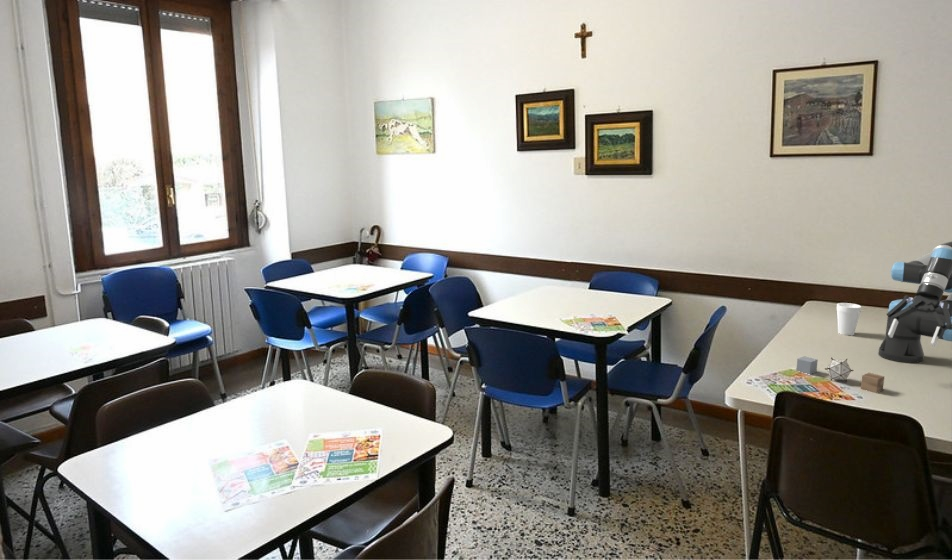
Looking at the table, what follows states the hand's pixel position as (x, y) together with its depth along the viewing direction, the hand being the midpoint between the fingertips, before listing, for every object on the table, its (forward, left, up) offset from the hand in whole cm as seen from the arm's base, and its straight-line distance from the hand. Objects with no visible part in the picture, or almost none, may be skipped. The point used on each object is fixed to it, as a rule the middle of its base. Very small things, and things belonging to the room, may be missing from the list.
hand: (910, 340), depth 231 cm
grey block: (+17, -27, -15) cm, 35 cm away
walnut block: (+17, -4, -15) cm, 23 cm away
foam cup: (-46, -42, -16) cm, 64 cm away
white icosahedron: (+17, -15, -16) cm, 28 cm away
